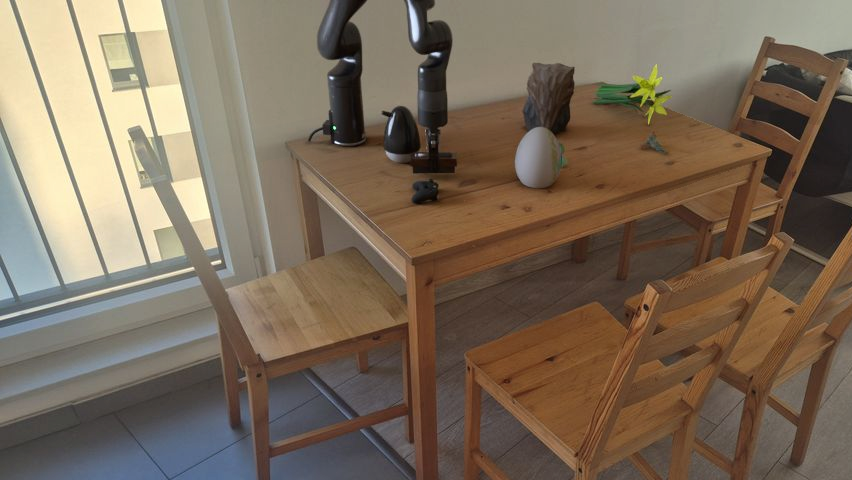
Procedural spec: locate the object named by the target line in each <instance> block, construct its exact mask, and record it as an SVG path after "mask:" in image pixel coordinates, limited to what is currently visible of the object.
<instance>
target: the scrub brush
mask: <svg viewBox="0 0 852 480" xmlns="http://www.w3.org/2000/svg"><path fill="white" fill-rule="evenodd" d="M431 155H436V154H431ZM428 157H429V151H419V152H417V153H411V155H410V162H409V164H410V168H412V174H420V175H421V174H424V175H425V174H429V175H430V174H431V173H430V165H429V159H428ZM438 157H439V159H438V173H437V174H456V168H457V166H458V155H457V152H451V151H438Z"/></svg>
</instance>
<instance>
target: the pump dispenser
mask: <svg viewBox="0 0 852 480" xmlns="http://www.w3.org/2000/svg"><path fill="white" fill-rule="evenodd" d="M380 114H381V115H382V116H385V117H387V120H386V124H385V128H384V132H383V150H384V151H385V154H386V156H387V157H388V159H390V161H392V162H395V163H399V164H407V163H410V155H411V153H417V152H420V151H421V148H422V144H421V136H420V131H419V127H418V125H417V122H416V119H415V117H414V115H413V113H412V111H411V110H410V109H409V108H408V107H407V106H405V105H397V106H395V107H393V108H392V109H391V111H386V110H381V113H380Z"/></svg>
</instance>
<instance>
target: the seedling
mask: <svg viewBox="0 0 852 480" xmlns="http://www.w3.org/2000/svg"><path fill="white" fill-rule="evenodd" d="M558 143H559V145H560V148H561V153H562V167H561V168H563V167H565V166H566V165H567V164H568V159H567V157H565V156H564V154H565V152H566V148H565V146H564V144H563V143H562V142H561V141H558Z"/></svg>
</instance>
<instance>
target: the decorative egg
mask: <svg viewBox="0 0 852 480" xmlns="http://www.w3.org/2000/svg"><path fill="white" fill-rule="evenodd" d="M558 142H559V141H558V139H557V137H556V135H555V136H554V134H553V133H552V132H551V131H550V130H548V129H547V128H544V127H536V128H534V129H532V130H528V132H527V133H526V134H525V135H524V136H523V137H522V139H521V140H520V142H519V144H518V145H517V149H516V152H515V156H514V157H515V158H514V168H515V172H516V176H517V177H518V179H519V181H520V182H521V183H522V184H523V185H524V186H526V187H529V188H531V189H545V188H548V187H551V186H552V185H553V184H554V183H555V182H556V181H557V180H558V178H559V177H560V173H561V171H562V168H563V167H562V155H563V154H562V153H561V148H560V145H559V143H558Z"/></svg>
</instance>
